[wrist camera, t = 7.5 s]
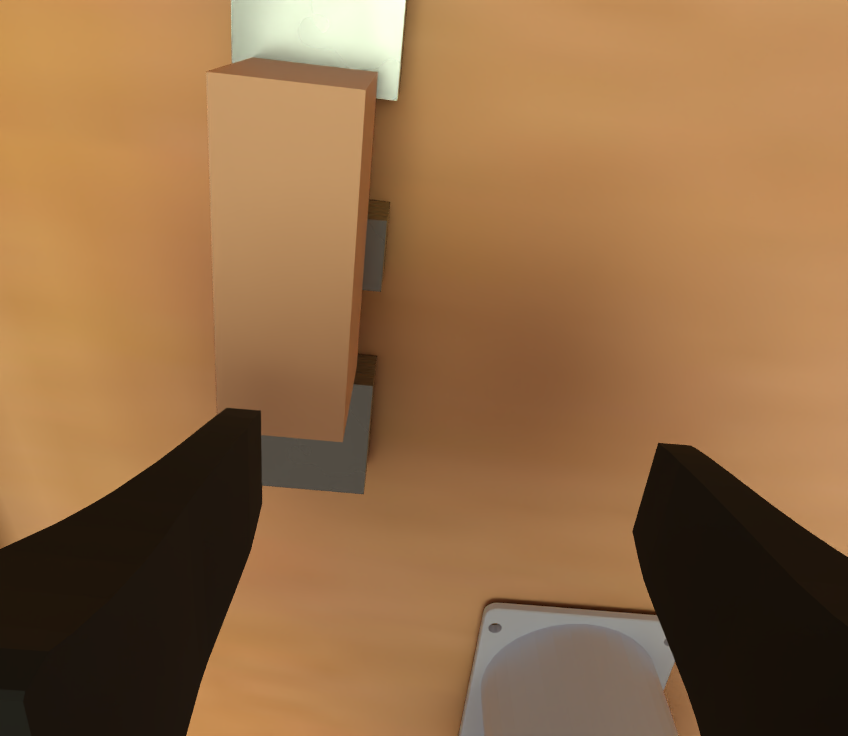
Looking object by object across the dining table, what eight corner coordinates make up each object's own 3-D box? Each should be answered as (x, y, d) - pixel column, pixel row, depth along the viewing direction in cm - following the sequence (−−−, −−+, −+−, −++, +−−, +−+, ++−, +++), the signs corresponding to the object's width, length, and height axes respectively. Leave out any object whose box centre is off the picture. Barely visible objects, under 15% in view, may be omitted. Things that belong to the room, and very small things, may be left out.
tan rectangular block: (362, 337, 22) (342, 442, 17) (267, 328, 22) (217, 431, 17) (382, 65, 19) (365, 90, 13) (268, 52, 18) (206, 71, 13)
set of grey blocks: (368, 458, 24) (363, 494, 23) (252, 448, 24) (238, 483, 22) (414, -83, 17) (413, -93, 15) (249, -104, 17) (229, -117, 15)
